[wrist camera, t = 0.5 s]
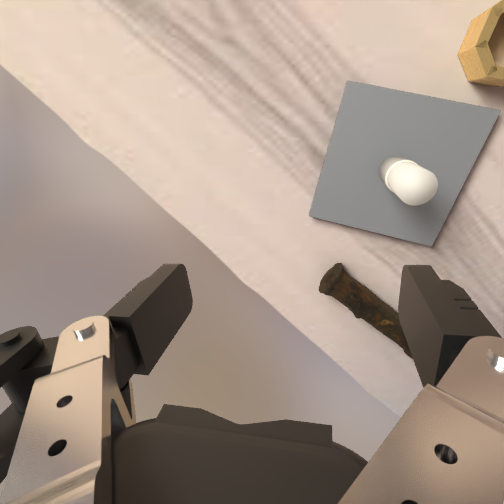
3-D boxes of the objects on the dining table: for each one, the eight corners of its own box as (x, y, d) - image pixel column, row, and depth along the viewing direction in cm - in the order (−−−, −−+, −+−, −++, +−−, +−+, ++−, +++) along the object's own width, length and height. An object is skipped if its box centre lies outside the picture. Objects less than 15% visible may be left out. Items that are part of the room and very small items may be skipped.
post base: (347, 81, 30) (357, 65, 21) (494, 110, 28) (576, 107, 19) (309, 213, 36) (304, 245, 27) (428, 242, 34) (466, 287, 25)
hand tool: (316, 277, 39) (315, 296, 35) (338, 257, 38) (340, 275, 34) (419, 361, 41) (430, 388, 37) (444, 346, 40) (459, 373, 35)
